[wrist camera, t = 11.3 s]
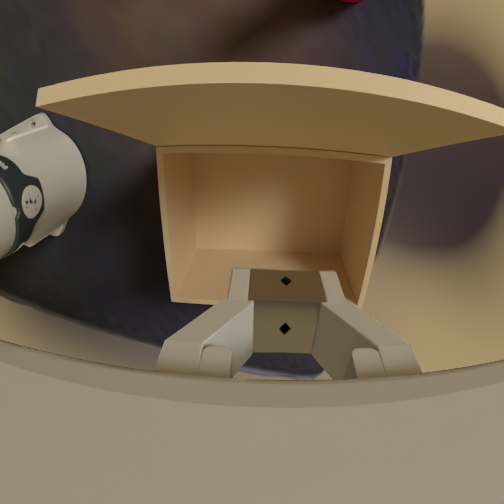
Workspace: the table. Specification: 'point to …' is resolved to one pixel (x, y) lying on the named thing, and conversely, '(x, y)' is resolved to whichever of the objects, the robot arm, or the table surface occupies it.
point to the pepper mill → (351, 0)
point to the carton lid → (274, 107)
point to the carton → (268, 214)
